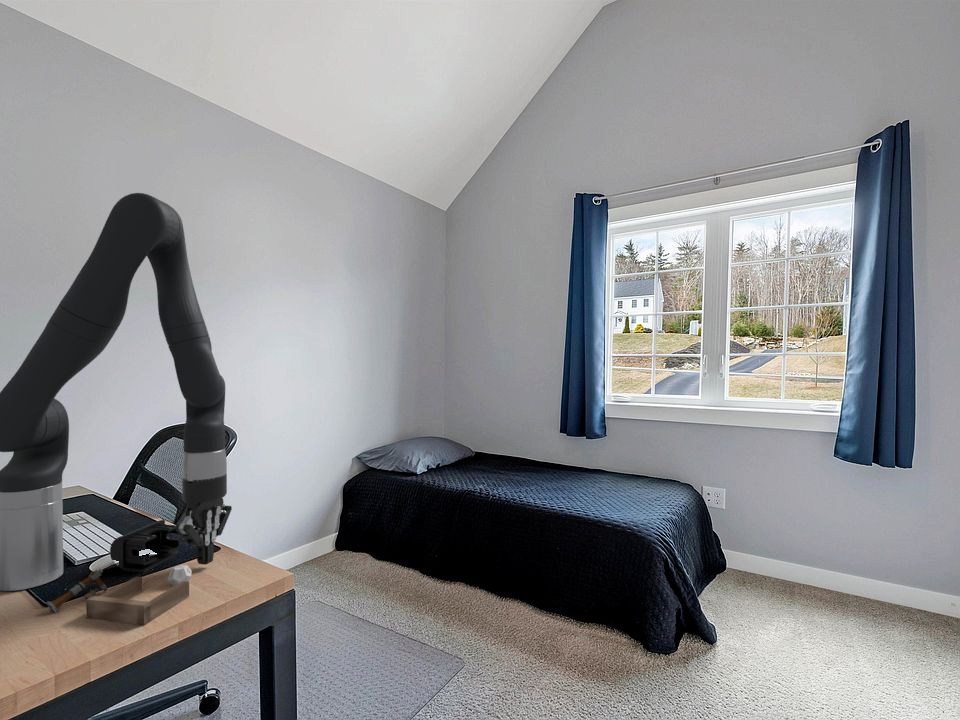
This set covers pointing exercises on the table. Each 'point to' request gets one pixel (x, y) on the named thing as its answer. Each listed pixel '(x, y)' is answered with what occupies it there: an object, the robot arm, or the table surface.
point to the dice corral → (133, 603)
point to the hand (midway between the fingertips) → (205, 562)
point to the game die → (179, 574)
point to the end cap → (145, 547)
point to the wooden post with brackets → (93, 576)
